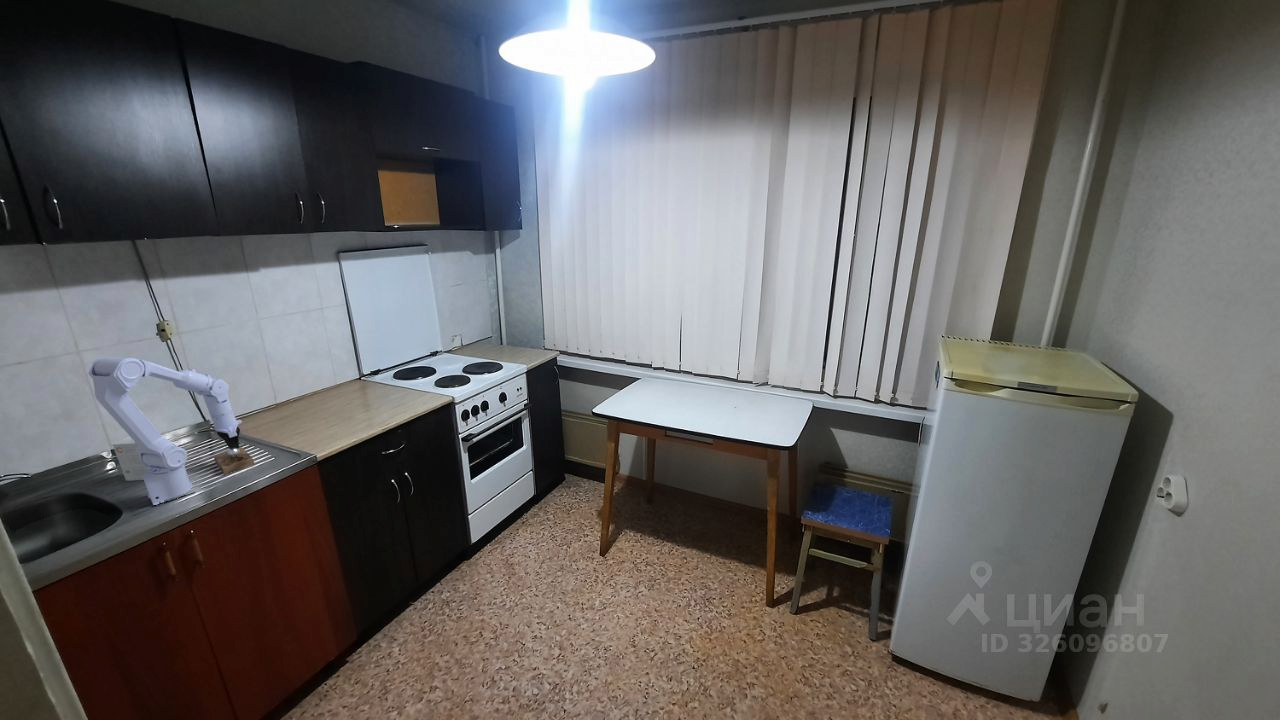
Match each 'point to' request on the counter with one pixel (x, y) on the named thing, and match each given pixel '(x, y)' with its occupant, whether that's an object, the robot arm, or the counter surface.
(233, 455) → the steel ball
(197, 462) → the counter surface
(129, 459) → the small box
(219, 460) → the hole plate
